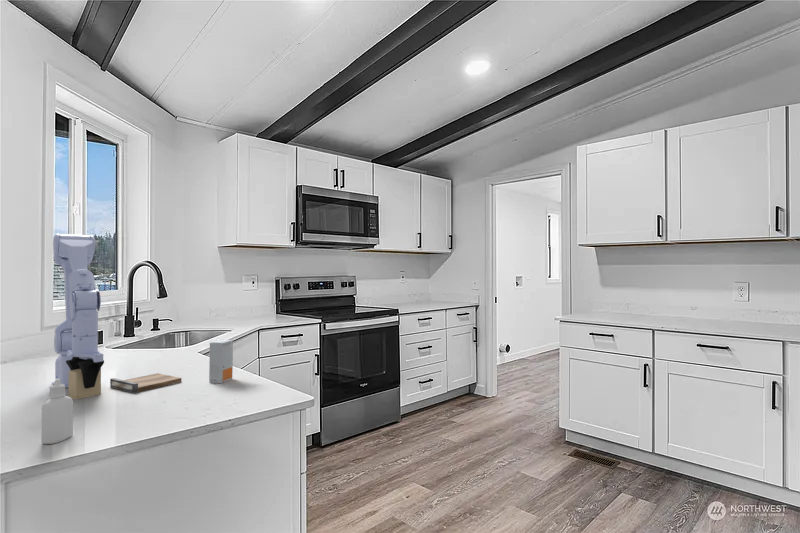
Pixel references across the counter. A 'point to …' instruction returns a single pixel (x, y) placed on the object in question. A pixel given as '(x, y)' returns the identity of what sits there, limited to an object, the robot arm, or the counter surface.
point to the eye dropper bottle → (57, 415)
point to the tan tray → (144, 382)
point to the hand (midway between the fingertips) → (84, 386)
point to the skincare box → (221, 361)
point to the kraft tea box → (82, 385)
